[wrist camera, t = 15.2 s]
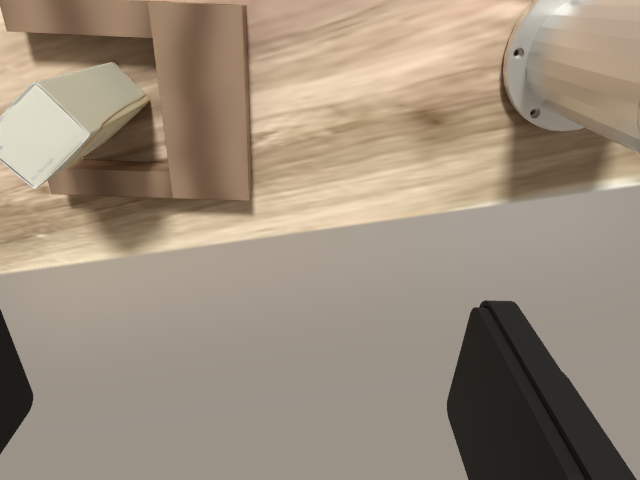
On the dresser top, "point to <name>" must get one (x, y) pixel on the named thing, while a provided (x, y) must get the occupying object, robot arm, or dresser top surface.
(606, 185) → the dresser top surface
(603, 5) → the robot arm
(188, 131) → the notched board
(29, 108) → the skincare box
